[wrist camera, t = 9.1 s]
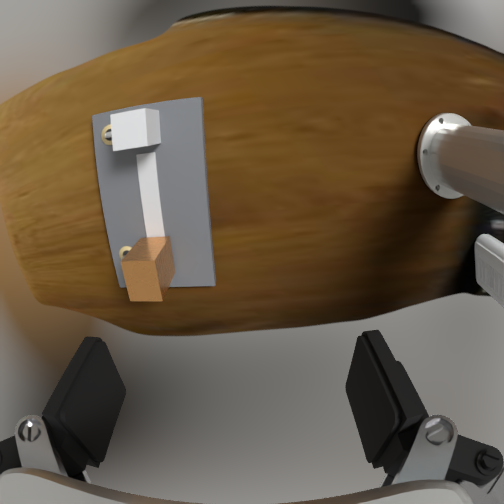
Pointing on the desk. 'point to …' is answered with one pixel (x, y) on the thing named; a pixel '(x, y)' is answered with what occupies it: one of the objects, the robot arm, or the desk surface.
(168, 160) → the slide rail plate
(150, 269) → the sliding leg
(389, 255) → the desk surface
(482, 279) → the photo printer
